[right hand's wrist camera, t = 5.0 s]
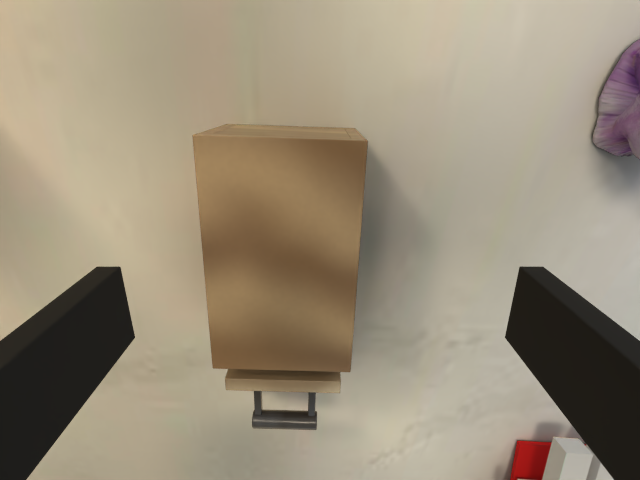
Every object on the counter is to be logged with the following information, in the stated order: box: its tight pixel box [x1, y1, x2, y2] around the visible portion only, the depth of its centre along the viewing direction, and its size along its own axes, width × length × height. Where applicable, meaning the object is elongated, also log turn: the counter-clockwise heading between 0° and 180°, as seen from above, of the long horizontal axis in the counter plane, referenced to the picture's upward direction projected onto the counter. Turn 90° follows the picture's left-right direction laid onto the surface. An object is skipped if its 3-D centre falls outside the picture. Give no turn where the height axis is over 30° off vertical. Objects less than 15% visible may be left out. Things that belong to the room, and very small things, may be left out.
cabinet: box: [193, 124, 368, 372], centre depth 30 cm, size 17×11×9 cm, turn 178°
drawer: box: [225, 369, 341, 430], centre depth 32 cm, size 22×9×7 cm, turn 178°
